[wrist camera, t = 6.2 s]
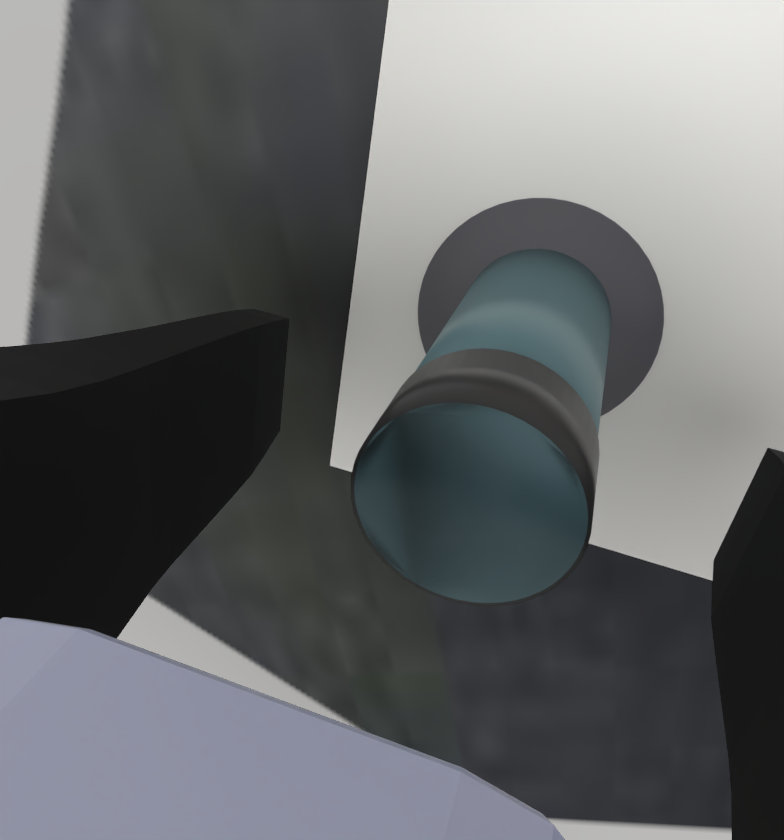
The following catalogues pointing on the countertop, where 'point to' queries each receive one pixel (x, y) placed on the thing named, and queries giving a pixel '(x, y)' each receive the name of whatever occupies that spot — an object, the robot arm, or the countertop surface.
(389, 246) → the paper
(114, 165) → the countertop surface
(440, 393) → the teal cylinder
